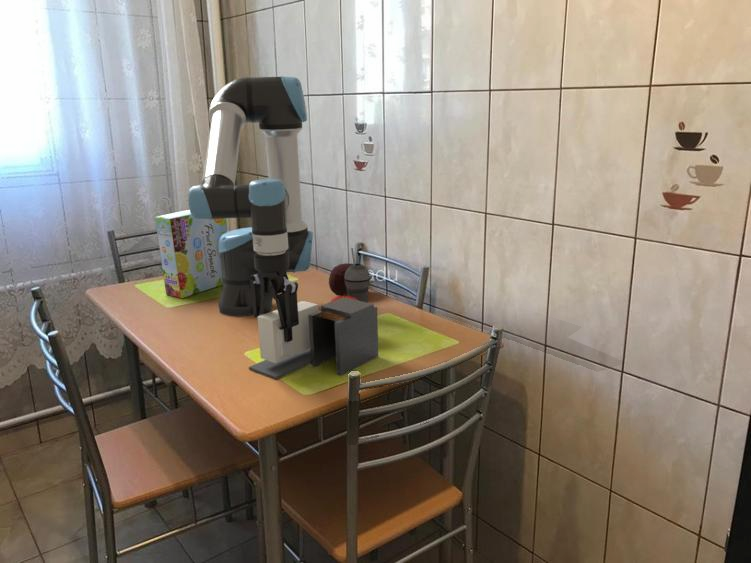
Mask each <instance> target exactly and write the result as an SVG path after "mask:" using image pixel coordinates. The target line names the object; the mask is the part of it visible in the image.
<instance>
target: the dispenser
mask: <svg viewBox="0 0 751 563" xmlns="http://www.w3.org/2000/svg"><path fill="white" fill-rule="evenodd" d="M308 316H309V335H310V353H311V364H310V366H311V367H314V368H315V366H316V367H317V366H320V365H322V364H324V363H325V362H326V363H327V362H328V361H331V360H333V359H334V358H335V361H336V362H335V363H336V364H335V366H336V375H337V376H341V377H342V376H343V375H346V374H348V373H349V372H351V371H353V370H355V369H357V368H359V367H361V366H363V365H365V364H367V363H369V362H371V361H373V360H375V359H377V358H379V331H378V330H379V328H378V320H379V318H378V307H377V306H375V304H373V303H370V302H368V303H366V302H362V301H358V300H354V299H350V298H345V297H343V298H341V299H338V300H335V301H332V302H331V301H330V302H327V303H324V304H322V305H320V310H318V311H317V312H314V313H312V314H309V315H308Z"/></svg>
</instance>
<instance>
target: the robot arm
mask: <svg viewBox="0 0 751 563" xmlns="http://www.w3.org/2000/svg"><path fill="white" fill-rule="evenodd" d="M208 108H209V109H208V113H207V114H208V115H207V118H208V122H209V124H210V128H209V133H208V134H209V135H208V140H207V146H206V147H207V148H206V153H205V157H204V166H203V172H202V178H201V183H200V184H198V185H193V186H191V187H190V188H189V190H188V193H187V194H188V195H187V201H188V202H187V203H188V210H190V213H191V215H192V216H193V217H194V218H197V219H222V218H226V219H239V218H240V219H243V218H245V219H247V218H250V220H251V226H250V227H241V228H237V229H234V230H233V229H232V230H230V231H227V233H225V234H223V235H222V236H221V237H220V240H219V247H220V250H219V253H220V259H221V270H222V280H223V285H221V292H220V295H219V300H218V310H219V313H221V314H223V315H228V316H236V317H237V316H238V317H241V316H251V315H252V316H253V317H254V318H255V319H256V318H257V319H258V317H257V316H260V315H263V314H266V313H269V312H272V307H273V299H274V302H275V304H276V308H277V309H276V310H278V314H279V318H280V322H281V326H282V327H279V336H280V350H281V356H285V355H288V354H290V353H292V345H291V341H292V339H293V338H292V327H293V326H296V325H298V324H299V318H298V304H297V303H298V288H299V284H298V282H297V281H296V282H292V281H291V280H289V276H288V273H293V274H294V273H299V272H307V271H308V270H309V269H310V267H311V260H312V251H313V250H312V248H313V238H314V237H313V236H314V232H313V231H311V230H308V229H309V228H308V224H307V223H306V222H305V221H304V220H303V216H302V215H303V214H302V199H301V196H302V195H301V181H300V179H301V178H300V165H299V164H300V161H299V147H298V146H299V145H298V142H299V141H298V134H299V133H300V132H301V131H302V130H303V123H305V122H307V121H308V114H307V107H306V102H305V97H304V90H303V87H302V83H301V80H300V79H298V78H297V77H294V76H282V75H281V76H258V77H247V76H244V77H239V78H235V79H234V80H231V81H229V82H228V83H227V84H225V85H224V86H222V88H220V90H219V91H218V92H217V93H216V94H215V96H213V99H212V100H211V103H210V105H209V107H208ZM247 123H258V129H259V131H260V132H261V133H262V134H264V136H265V148H266V149H265V150H266V159H267V160H266V161H267V173H268V174H267V175H268V178H263V179H262V178H261V179H256V180H255V179H254V180H252V181H250V183H249V184H248V183H247V184H236V179H237V178H236V177H237V171H238V170H237V169H238V161H239V160H238V159H239V151H240V143H241V142H240V141H241V134H242V131H243V129H244V128H245V126H246V124H247ZM286 321H287V322H286Z"/></svg>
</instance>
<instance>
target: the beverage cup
mask: <svg viewBox="0 0 751 563" xmlns="http://www.w3.org/2000/svg"><path fill="white" fill-rule="evenodd" d="M350 250H351V257H352V262H353V263H352V264H353V265H351V266H349V267H348V268H347V270H346V272H345V277H344V280H345V285H346V289H347V296H351V297H354V298H357V299H358V300H359V301H362V302H366V303H369V301H368V300H369V288H370V282H371V275H370V271H369V270H368V268H367V267H366V265H364V264H361V263H356V260H355V254H354V248H353V247H351V248H350Z"/></svg>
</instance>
